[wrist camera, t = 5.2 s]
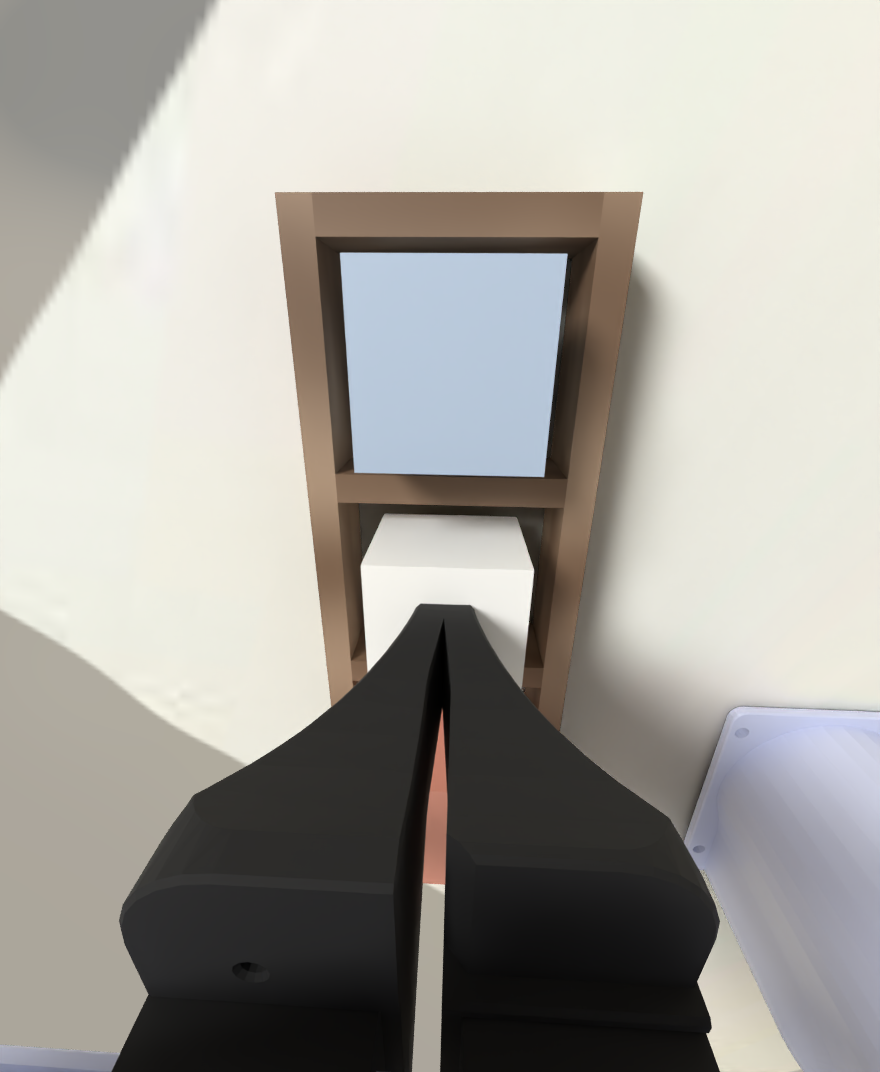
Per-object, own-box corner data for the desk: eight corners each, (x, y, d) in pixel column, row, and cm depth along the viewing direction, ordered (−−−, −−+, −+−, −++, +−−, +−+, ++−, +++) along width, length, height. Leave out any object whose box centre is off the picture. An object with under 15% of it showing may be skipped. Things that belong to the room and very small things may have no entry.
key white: (507, 628, 15) (519, 705, 12) (389, 624, 15) (369, 699, 12) (516, 516, 13) (533, 570, 10) (384, 513, 14) (360, 565, 10)
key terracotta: (498, 782, 17) (506, 887, 13) (390, 777, 17) (373, 880, 13) (505, 699, 15) (517, 795, 12) (387, 694, 15) (367, 787, 12)
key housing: (536, 761, 19) (546, 817, 17) (356, 752, 19) (342, 807, 17) (606, 223, 12) (643, 191, 9) (310, 222, 12) (274, 192, 10)
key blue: (522, 443, 13) (543, 477, 9) (381, 440, 13) (354, 472, 9) (536, 281, 11) (568, 253, 8) (375, 280, 11) (340, 253, 8)
